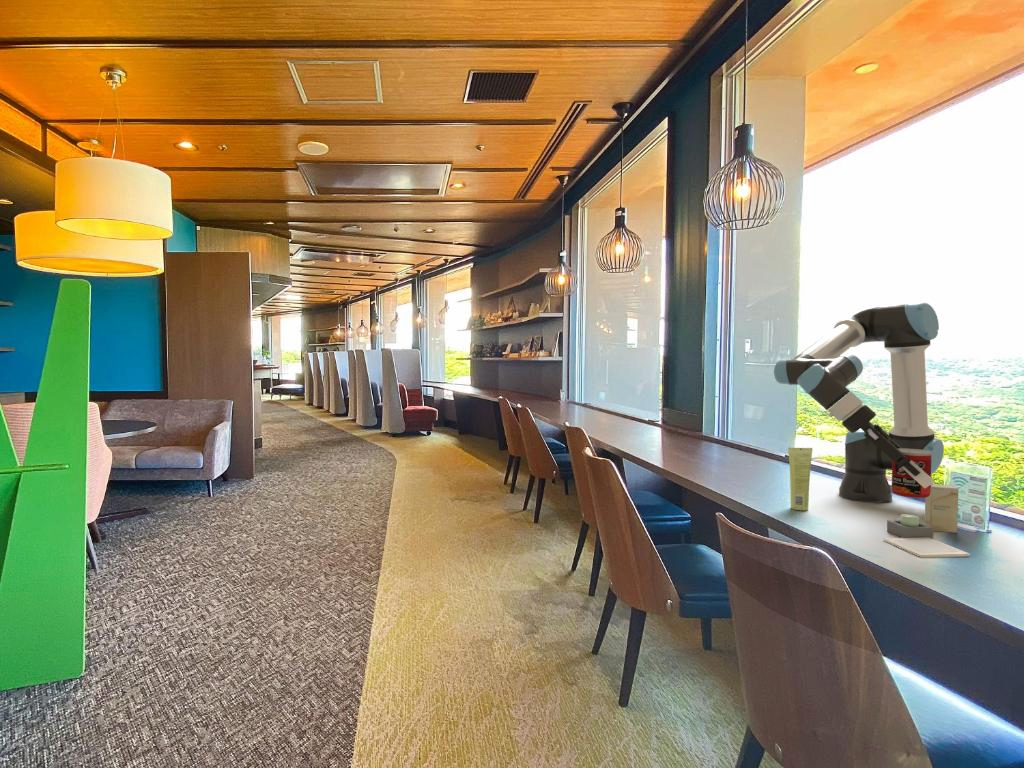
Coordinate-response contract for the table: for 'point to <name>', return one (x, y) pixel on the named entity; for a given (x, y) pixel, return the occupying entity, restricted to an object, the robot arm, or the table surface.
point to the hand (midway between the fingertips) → (928, 481)
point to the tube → (800, 477)
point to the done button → (909, 520)
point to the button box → (909, 530)
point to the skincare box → (942, 508)
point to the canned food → (906, 483)
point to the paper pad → (926, 547)
